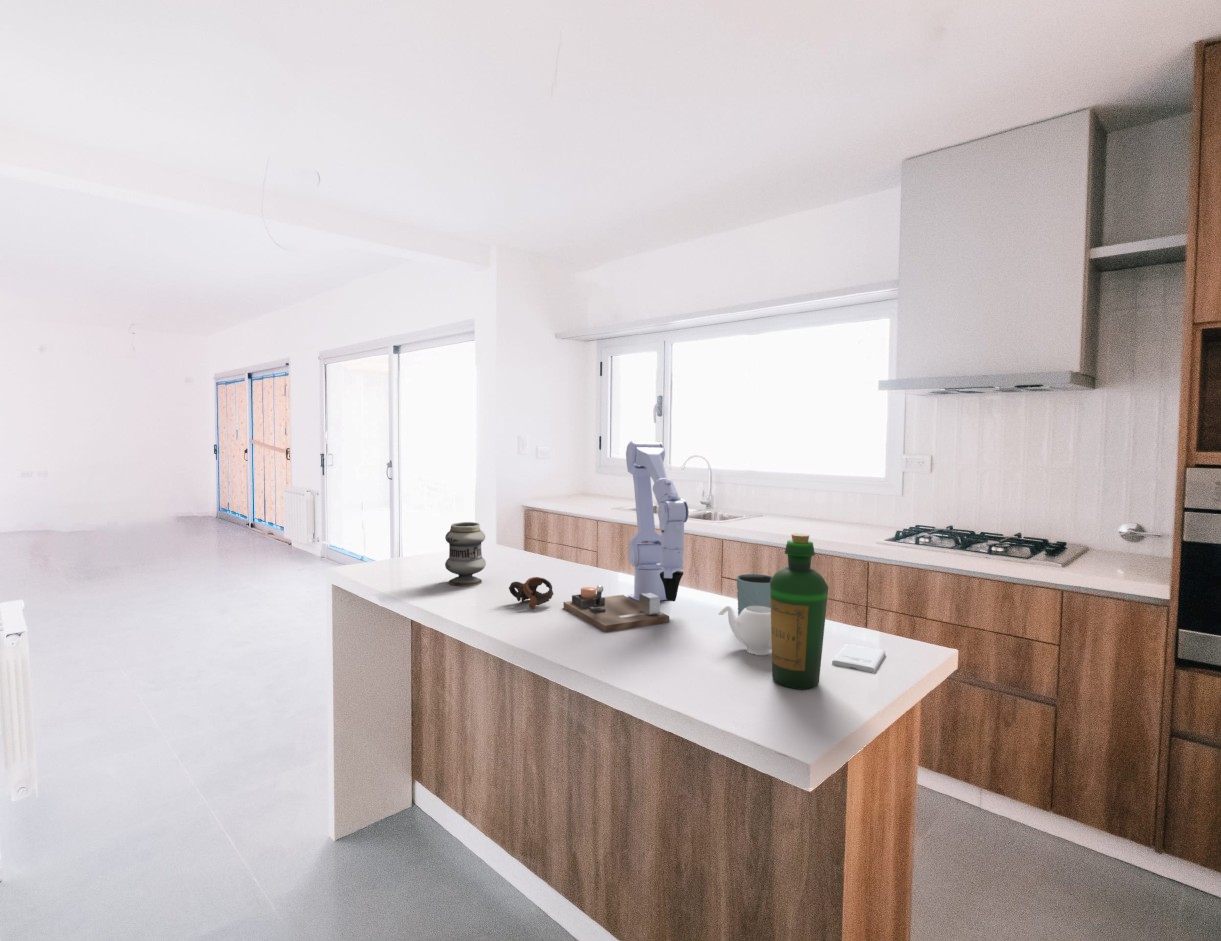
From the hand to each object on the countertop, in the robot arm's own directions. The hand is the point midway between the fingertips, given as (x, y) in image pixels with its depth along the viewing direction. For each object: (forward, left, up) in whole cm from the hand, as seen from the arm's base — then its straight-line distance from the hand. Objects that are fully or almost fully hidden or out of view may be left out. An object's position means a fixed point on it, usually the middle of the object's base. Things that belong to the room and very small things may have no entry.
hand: (671, 600), depth 166 cm
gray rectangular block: (+6, 0, -2) cm, 7 cm away
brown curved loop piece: (+28, -26, -4) cm, 38 cm away
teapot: (-2, +31, -4) cm, 31 cm away
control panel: (+12, -7, -4) cm, 15 cm away
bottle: (+3, +47, -4) cm, 47 cm away
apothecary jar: (+36, -57, -4) cm, 68 cm away
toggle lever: (+17, -7, -1) cm, 19 cm away
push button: (+16, -14, -1) cm, 22 cm away
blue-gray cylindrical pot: (-14, +17, -4) cm, 22 cm away
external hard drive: (-18, +44, -5) cm, 48 cm away
